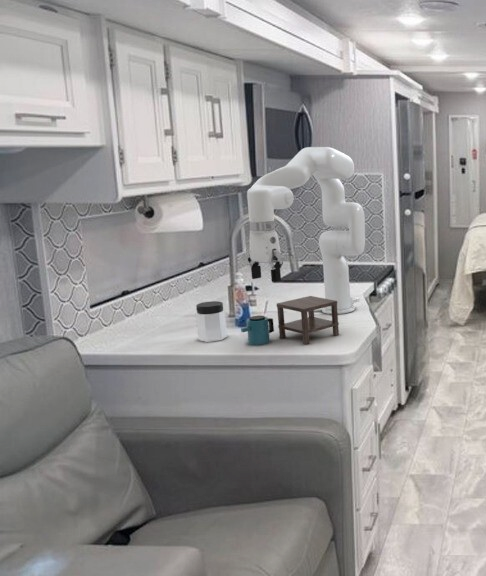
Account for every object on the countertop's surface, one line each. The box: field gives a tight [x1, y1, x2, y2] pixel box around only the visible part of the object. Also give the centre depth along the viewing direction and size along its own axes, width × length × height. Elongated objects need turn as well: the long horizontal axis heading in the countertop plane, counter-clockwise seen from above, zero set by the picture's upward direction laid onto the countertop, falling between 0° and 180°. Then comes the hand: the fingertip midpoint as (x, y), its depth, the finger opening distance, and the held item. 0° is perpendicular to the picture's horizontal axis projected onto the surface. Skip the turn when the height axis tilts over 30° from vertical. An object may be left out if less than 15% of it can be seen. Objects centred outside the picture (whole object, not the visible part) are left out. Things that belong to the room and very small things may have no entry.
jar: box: [195, 300, 228, 343], centre depth 224 cm, size 9×8×12 cm
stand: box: [276, 295, 340, 345], centre depth 226 cm, size 14×14×12 cm
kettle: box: [240, 315, 275, 346], centre depth 219 cm, size 11×7×9 cm, turn 145°
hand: (266, 279), depth 215 cm, fingers open, 9 cm apart
